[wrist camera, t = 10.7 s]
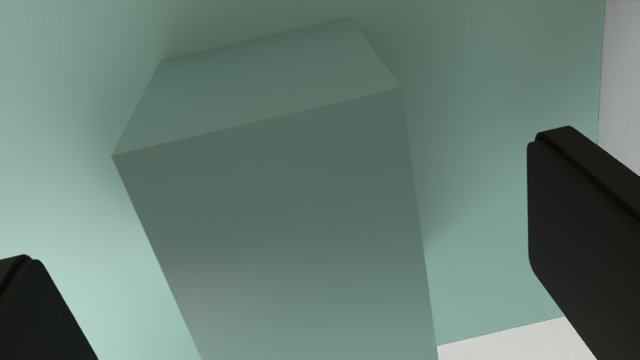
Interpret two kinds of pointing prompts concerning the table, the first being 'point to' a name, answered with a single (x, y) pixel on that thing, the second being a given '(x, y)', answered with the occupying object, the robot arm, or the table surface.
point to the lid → (286, 167)
